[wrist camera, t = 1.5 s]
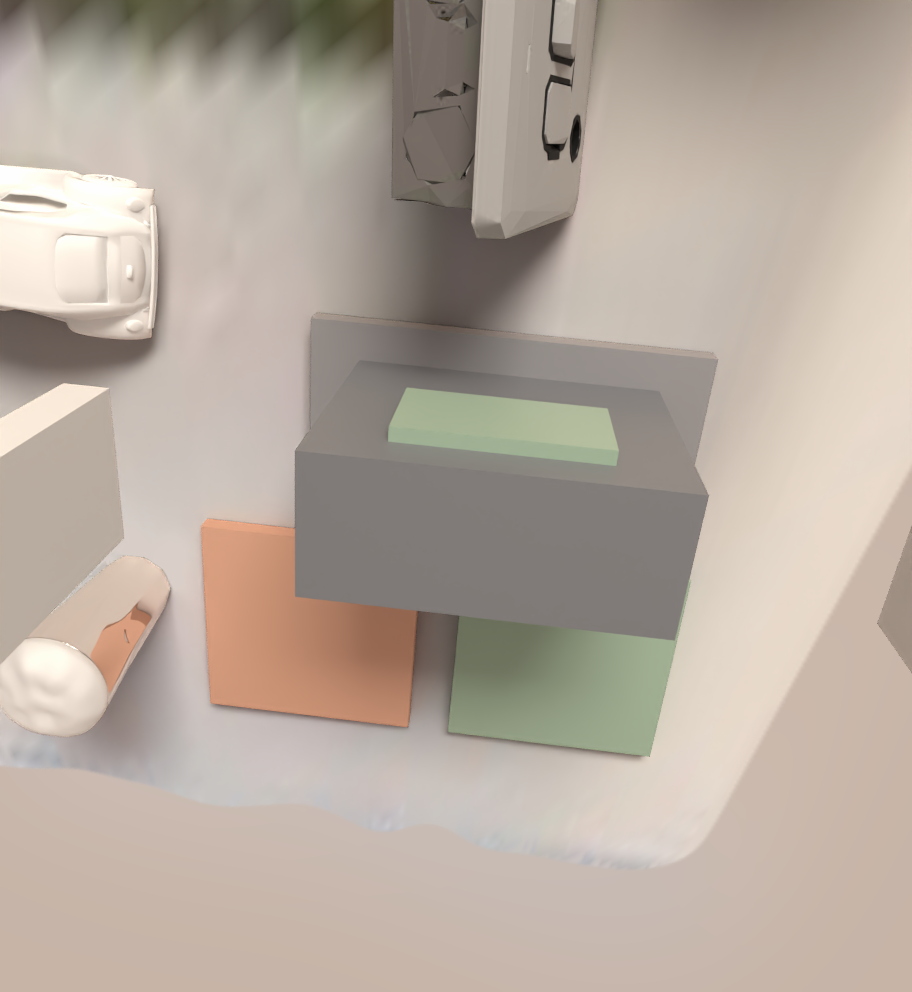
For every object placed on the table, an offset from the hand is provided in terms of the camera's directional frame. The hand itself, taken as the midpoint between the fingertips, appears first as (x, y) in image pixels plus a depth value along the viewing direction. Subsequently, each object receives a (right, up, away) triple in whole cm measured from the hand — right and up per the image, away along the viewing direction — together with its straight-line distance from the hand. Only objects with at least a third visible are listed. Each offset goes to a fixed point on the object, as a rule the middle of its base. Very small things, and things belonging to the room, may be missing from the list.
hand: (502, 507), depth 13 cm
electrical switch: (+1, +15, +16) cm, 22 cm away
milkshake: (-16, -4, +26) cm, 31 cm away
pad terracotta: (-8, -6, +26) cm, 28 cm away
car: (-18, +11, +20) cm, 29 cm away
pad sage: (+4, -7, +26) cm, 27 cm away
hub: (+1, +3, +21) cm, 22 cm away
